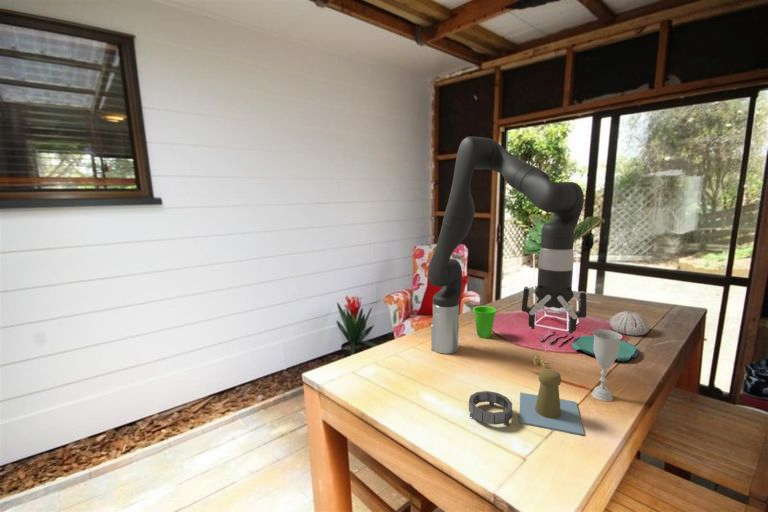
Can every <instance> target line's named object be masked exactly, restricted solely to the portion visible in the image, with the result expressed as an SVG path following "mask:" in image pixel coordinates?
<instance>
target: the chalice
mask: <svg viewBox="0 0 768 512" xmlns="http://www.w3.org/2000/svg"><path fill="white" fill-rule="evenodd" d="M592 334H593V335H592V336H594V346H593V350H594V354H595V356H594V357H595V358H596V361H597V364H598V366H600V367H601V371H600V374H601V377H600V378H599V381H600V385H596V386H595V387H594V389H593V390H592V392H591V393H590V394H591V396H592V397H593V398H594V399H596V400H599V401H601V402H612V401H613V399H614V398H613V396H612V393H611V391H610V389H609V388H608V387H606V385H605V384H606V382H607V381H608V380H607V379H606V376H607V375H608V373H607V368H611V366H613V364H614V362H615V361H616V360H617V359H616V358H617V356H618V354H619V343H620V341H622V338H623V335H622V333H620V332H617V331H615V330H610V329H603V328H602V329H600V328H598V329H594V330H593V331H592Z"/></svg>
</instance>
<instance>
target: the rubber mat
mask: <svg viewBox="0 0 768 512" xmlns="http://www.w3.org/2000/svg"><path fill="white" fill-rule="evenodd" d="M537 397H538V394H532V393H526V392H519V416H518V417H519V421H518V422H519V424H523V425H526V426H532V427H538V428H542V427H543V429H547V428H549V429H548V430H552V429H554V430H553V431H557V430H560V431H559V432H562V431H564V432H563V433H567V432H568V434H572V435H573V434H574V435H578V436H583V437H584V436H585V433H584V429H583V425H582V420H581V416H580V412H579V408H578V404H577V401H574V400H567V399H561V398H560V409H561V416H560V417H558V418H555V419H552V418H546V417H543V416H541V415H539V414H538V413H537V412H536V410H535V407H536V402H537Z"/></svg>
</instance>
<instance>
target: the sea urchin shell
mask: <svg viewBox="0 0 768 512" xmlns="http://www.w3.org/2000/svg"><path fill="white" fill-rule="evenodd" d="M609 325H610V328H611V329H613V331H615V332H617V333H620V334H623V335H627V336H636V337H638V336H643V335H645V334H648V332H649V331H650V325H649V323H648V320H646V318H645V317H644V316H642V314H640V313H638V312H634V311H630V310H629V311H627V310H625V311H620V312H618V313H616V314H614V315H613V316H611V317H610V318H609Z"/></svg>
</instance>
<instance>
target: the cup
mask: <svg viewBox="0 0 768 512" xmlns="http://www.w3.org/2000/svg"><path fill="white" fill-rule="evenodd" d="M472 310H473V313H474V321H475V328H476V333H477V334H476V335H477V337H479V338H480V339H489V338H490V337H491V336H492V333H493V328H494V322H495V318H496V317H495V316H496V313H497V311H498V310H497V308H496V307H493V306H489V305H488V306H487V305H478V306H474V307H473V308H472Z"/></svg>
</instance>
